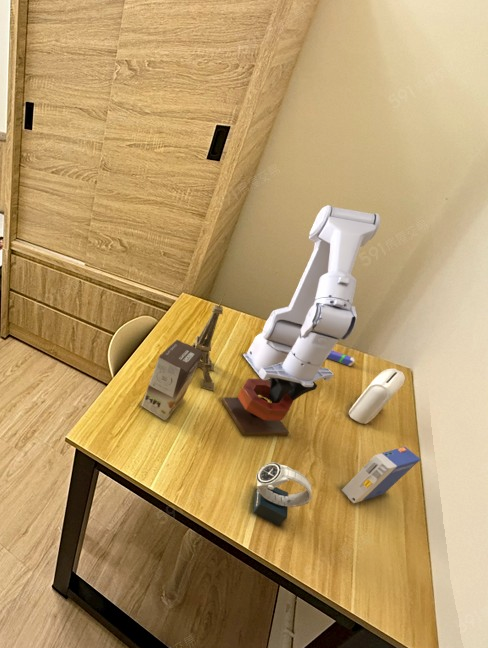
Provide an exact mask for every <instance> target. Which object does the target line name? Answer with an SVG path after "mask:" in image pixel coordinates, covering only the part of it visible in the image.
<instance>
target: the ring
mask: <svg viewBox="0 0 488 648" xmlns="http://www.w3.org/2000/svg"><path fill="white" fill-rule="evenodd" d="M270 385H271V383H270V380H263V379H261V378H251V377H250V378H247V380H246V381H245V383H244V384H243V386H242V388H241V389H240V391H239V393H238V395H237V398H238V399H239V400H240V402H241V403H242V405H243V406H244V408H245V409H246V410H247V411H249V412H250V413H252V414H254V415H256V416H258V417H259V418H261V419H263V420H277V421H281V422H282V421H283V420H284V419H285V417H286V416H287V414H288V412H289V411H290V409H291V407H292V405H293V403H294V401H293V400H292V399H291V397H290V396H289V395H288V394H287V393H286V394H285V395H284V396H283V397H282V399H281V400H280V401H279V402H278V403H273V402H272V401H271V399H270V398H269V393H270ZM259 397H263V398H265V399H266V400H267V401H268V402H267V401H265V400H263V399H261V398H259ZM269 401H270V402H269Z"/></svg>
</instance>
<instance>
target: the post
mask: <svg viewBox="0 0 488 648" xmlns="http://www.w3.org/2000/svg"><path fill="white" fill-rule="evenodd" d="M258 397H259V398H261V399H263V400H265V401H267V402H269V400H268V399H266V398H264V397H263V396H258ZM221 403H222V404H223V406H224V408H225V409H226V411H227V412H228V414H229V416H230V418H231V419H232V421H233V422H234V424H235V426H236V427H237V428H238V430H239V431H240V433H241V435H242V436H244V437H245V436H246V437H247V436H249V437H251V436H253V437H254V436H255V437H259V436H260V437H264V436H265V437H267V436H268V437H287V436H288V435H289V433H290V432H289V431H288V429H287V428H286V426H285V425H284V424H283V422H282V421H277V420H263V419H261V418H259V417H258V416H256V415H254V414H252V413H250V412H249V411H247V410H246V409H245V408H244V406H243V405H242V403H241V402H240V400H239V399H238V397H222V399H221Z"/></svg>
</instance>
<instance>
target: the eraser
mask: <svg viewBox="0 0 488 648" xmlns="http://www.w3.org/2000/svg"><path fill="white" fill-rule="evenodd" d="M326 359H329V360H331V361H334V362H337V363H340V364H342V365H345V366H348V367H352V366H353V365H354V363H355V362H356V361H355V357H353V356H350V355H346V354H344V353H341V352H338V351H335V350H332V351H331V353H330V354H329V356H328V357H327V358H326Z"/></svg>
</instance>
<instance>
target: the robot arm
mask: <svg viewBox="0 0 488 648" xmlns="http://www.w3.org/2000/svg"><path fill="white" fill-rule="evenodd" d="M381 221H382V219H381V216H380V214H379V213H372V212H371V213H370V212H365V211H360V210H354V209H348V208H342V207H336V206H331V205H329V204H328V205H325V206H323V207H322V208H321V209H320V210H319V212H318V213H317V215H316V217H315V219H314V221H313V225H312V227H311V229H310V231H309V236H308V239H309V240H310V241H311V242H312V243H314V247H313V250H312V253H311V255H310V258H309V260H308V261H307V265H306V266H305V269H304V271H303V273H302V276H301V277H300V280H299V282H298V285H297V287H296V289H295V291H294V294H293V295H292V298H291V300H290V303H289V304H288V306H285V307H281V308H276V309H274V310H273V311H272V312H271V313H270V314H269V317H268V318H267V320H265V323H264V326H263V328H262V332H260V333H258V334H257V335H256V336H255V337H254V339H253V341H252V342H251V345H250V347H249V348H248V350H247V352H246V353H243V354H242V355H243V357H244V358H245V360H246V361H247V362H248V364H249V365H250V367H252V369H253V371H254V372H256V374H257V376H259V379H263V380H268V381H270V383H271V385H270V393H269V398H270V399H271V401H272V402H273V403H278V402H279V401H280V400H281V399H282V397H283V396H284V395H285V394H286V393H287V394H288V395H289V396H290V397H291V399H292V400H293V402H294V401H296V400H297V399H298V398H300V397H301V396H303V395H306V394H307V393H309V392H312V391H315V390H316V389H317V388H318V385H317V383H316V382H318V381H320V380H323V381H325V382H330V381H331V380H332V379H333V377H334V376H335V374H334V373H333V372H332V371H331V370H330V368H329V367H322V366H323V365H324V363H325V362H326V360H327V359H328V358H327V357H328V356H329V354H330V353H331V351H334V348H335V347H336V345H338V342H339V341H340V339H341V340H343V341H345V340H347V339H348V338H349V337H350V336H351V335H352V333H353V331H354V329H355V327H356V324H357V320H358V314H357V312H356V309H357V308H356V306H354V299H355V294H356V289H357V285H358V281H357V279H356V277H354V276H353V275H352V272H353V269H354V267H355V264H356V260H357V257H358V254H359V251H360V248H362V247H364V246H365V245H367V243H369V241H371V240H372V239H373V238H374V237H375V235H376V234H377V233H378V230H379V228H380V227H381V226H380V225H381ZM271 401H270V402H271ZM272 402H271V403H272Z"/></svg>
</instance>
